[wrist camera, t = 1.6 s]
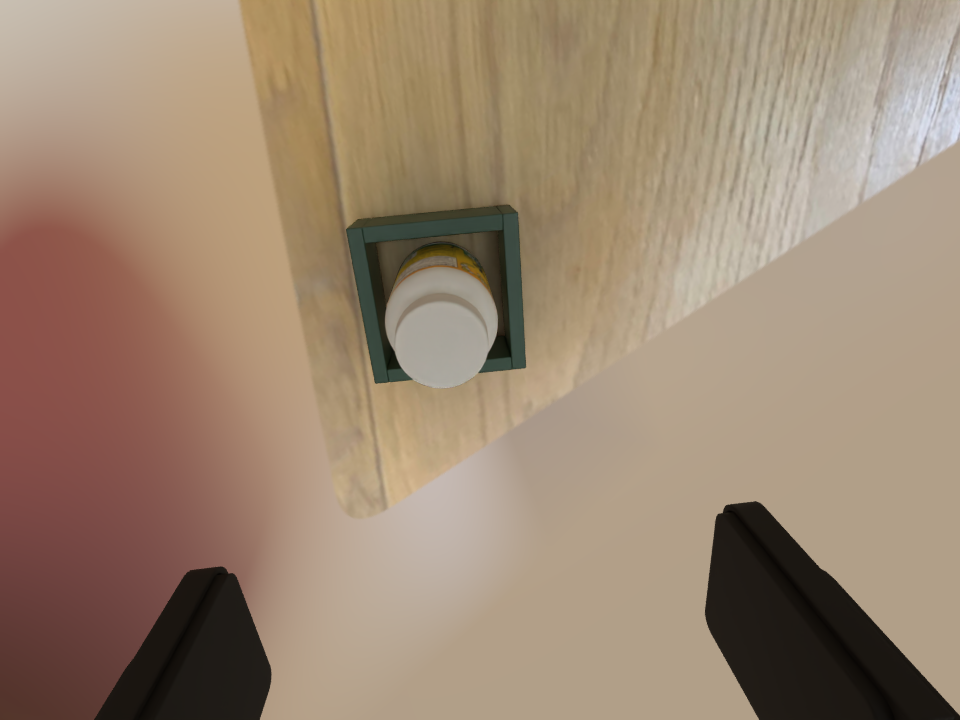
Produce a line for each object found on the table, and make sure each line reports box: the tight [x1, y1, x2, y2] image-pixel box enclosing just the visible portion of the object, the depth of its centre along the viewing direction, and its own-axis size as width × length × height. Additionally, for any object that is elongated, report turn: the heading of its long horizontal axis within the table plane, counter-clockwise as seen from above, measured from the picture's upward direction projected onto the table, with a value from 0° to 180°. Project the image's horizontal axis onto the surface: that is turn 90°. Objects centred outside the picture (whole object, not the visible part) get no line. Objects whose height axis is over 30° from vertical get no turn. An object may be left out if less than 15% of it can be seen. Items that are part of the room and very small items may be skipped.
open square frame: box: [346, 205, 526, 384], centre depth 28 cm, size 9×9×4 cm
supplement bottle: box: [385, 242, 498, 388], centre depth 25 cm, size 5×5×10 cm
